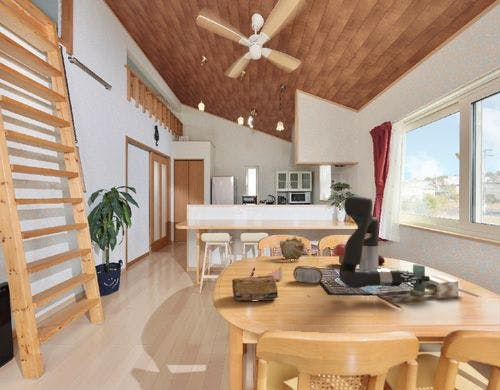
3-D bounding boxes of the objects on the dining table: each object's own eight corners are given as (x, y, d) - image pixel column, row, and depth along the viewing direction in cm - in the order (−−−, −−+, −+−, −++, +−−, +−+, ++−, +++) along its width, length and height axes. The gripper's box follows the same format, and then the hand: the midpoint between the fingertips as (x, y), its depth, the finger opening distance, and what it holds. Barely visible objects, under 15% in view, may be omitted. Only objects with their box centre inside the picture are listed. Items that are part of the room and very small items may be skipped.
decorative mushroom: (331, 266, 172) (330, 243, 173) (337, 262, 184) (337, 240, 184) (352, 269, 165) (352, 245, 165) (357, 264, 176) (357, 242, 176)
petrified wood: (234, 304, 110) (233, 279, 112) (232, 300, 122) (230, 277, 124) (279, 300, 113) (277, 275, 115) (273, 296, 125) (271, 274, 127)
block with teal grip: (419, 297, 114) (419, 267, 114) (410, 293, 118) (410, 264, 119) (450, 295, 117) (450, 265, 117) (440, 291, 122) (440, 262, 122)
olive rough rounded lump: (306, 235, 185) (300, 235, 200) (281, 236, 184) (277, 237, 199) (308, 261, 182) (302, 259, 197) (283, 263, 181) (279, 261, 196)
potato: (372, 262, 183) (372, 253, 183) (385, 264, 178) (385, 255, 178) (369, 264, 178) (369, 255, 178) (383, 266, 172) (383, 257, 173)
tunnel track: (398, 307, 107) (397, 287, 107) (376, 296, 120) (376, 278, 120) (481, 299, 115) (480, 281, 115) (452, 289, 128) (452, 273, 128)
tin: (322, 283, 138) (322, 267, 138) (322, 285, 135) (322, 268, 135) (293, 280, 143) (293, 264, 143) (292, 282, 140) (292, 266, 140)
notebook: (281, 282, 141) (281, 278, 141) (250, 281, 143) (250, 277, 143) (281, 269, 168) (281, 265, 168) (255, 268, 170) (255, 265, 170)
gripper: (395, 273, 109) (436, 272, 110) (378, 264, 123) (414, 264, 124) (396, 291, 109) (437, 291, 109) (378, 280, 123) (414, 280, 124)
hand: (424, 276), depth 117 cm, fingers closed on block with teal grip, 4 cm apart
